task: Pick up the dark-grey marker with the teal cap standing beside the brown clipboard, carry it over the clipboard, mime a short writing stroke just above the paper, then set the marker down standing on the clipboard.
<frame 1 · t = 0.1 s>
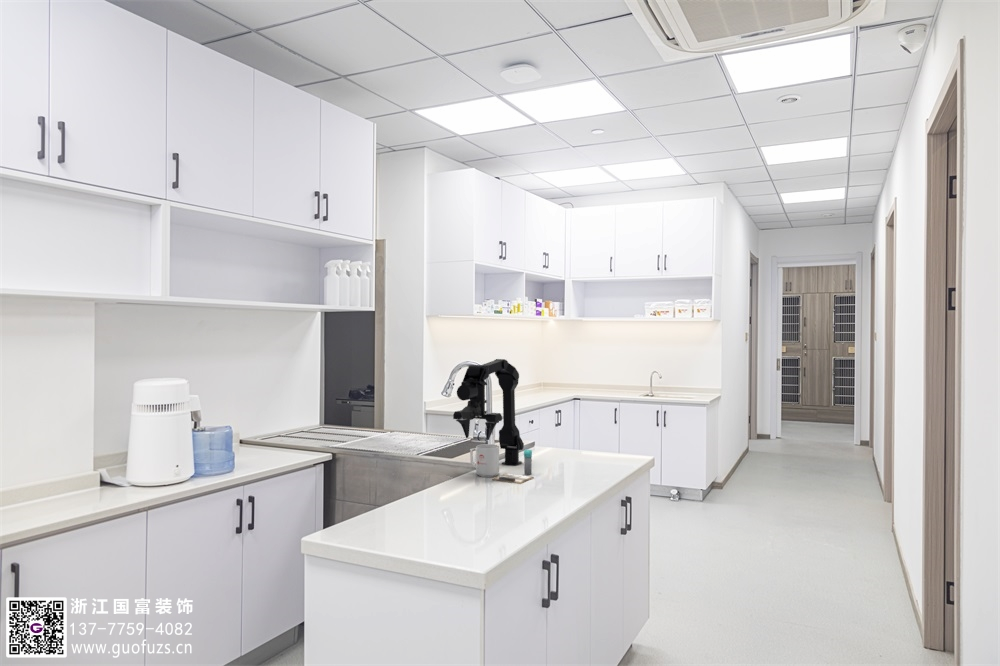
hand: (477, 438, 255), 15 cm above the countertop, fingers open, 9 cm apart
clipboard: (513, 479, 252), on the countertop
marker: (527, 474, 259), on the countertop
mug: (484, 475, 260), on the countertop
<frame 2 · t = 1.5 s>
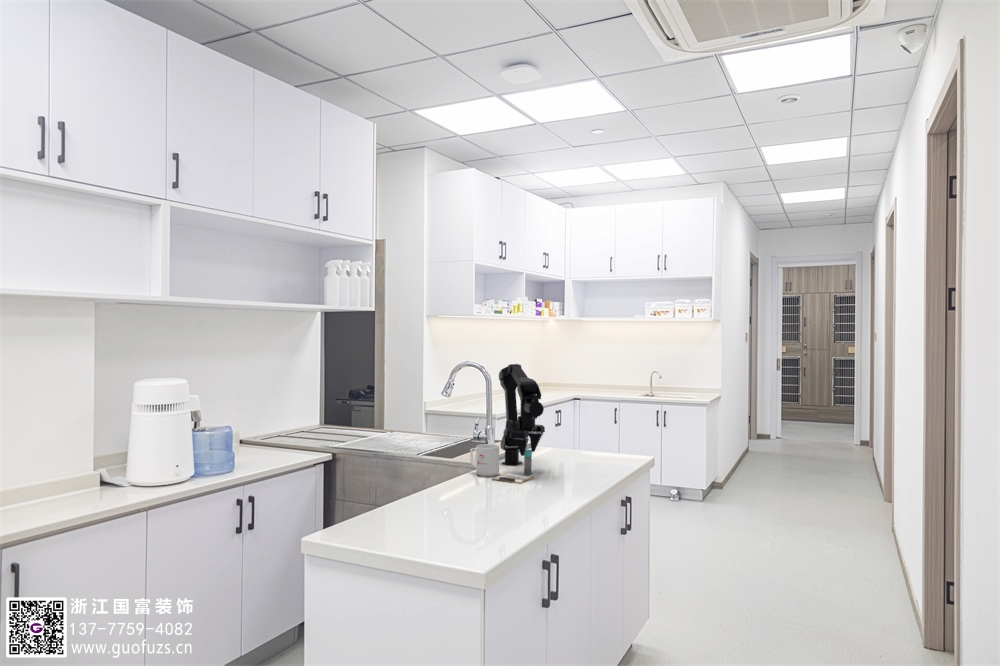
hand: (527, 453, 259), 8 cm above the countertop, fingers open, 9 cm apart
nothing on the countertop moved.
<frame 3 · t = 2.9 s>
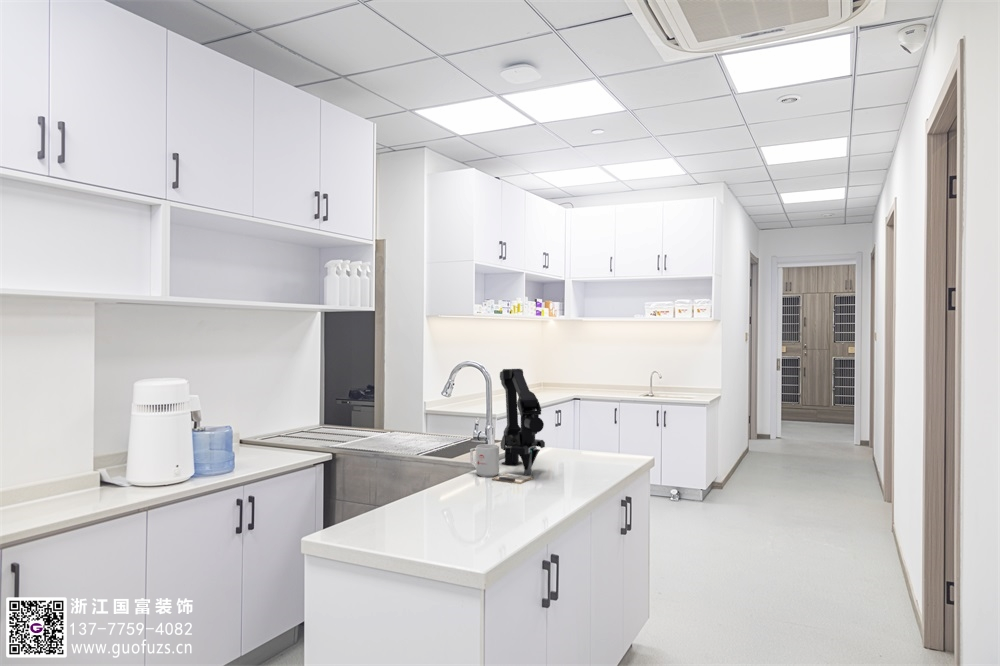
hand: (527, 468, 259), 2 cm above the countertop, fingers closed on marker, 3 cm apart
marker: (527, 474, 259), on the countertop, touching gripper
everything else where it was.
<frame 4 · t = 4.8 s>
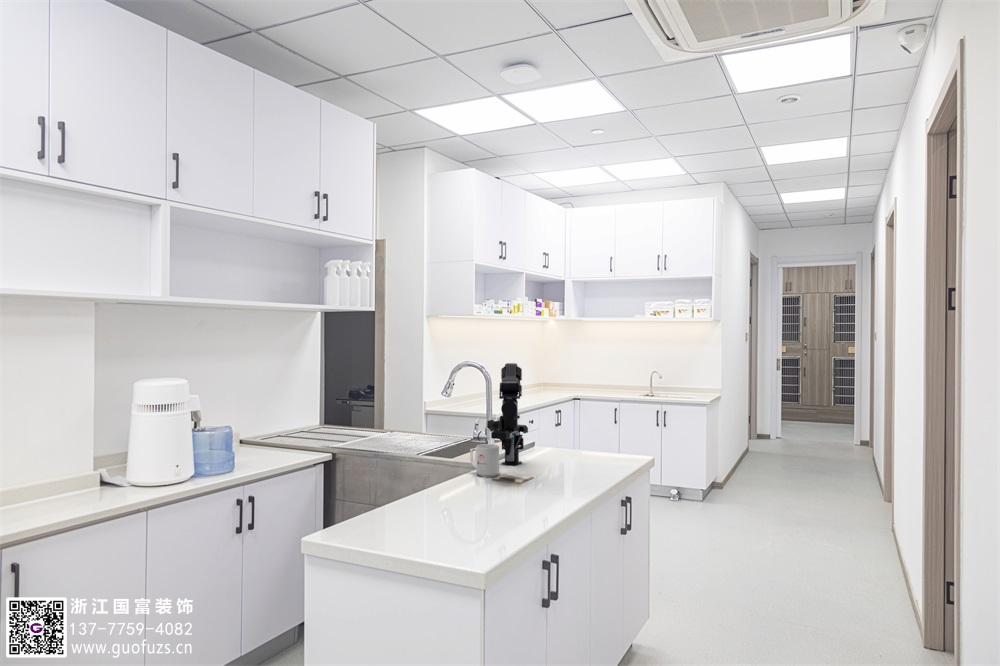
hand: (510, 454, 251), 9 cm above the countertop, fingers closed on marker, 3 cm apart
marker: (510, 460, 251), point 7 cm above the countertop, touching gripper
everything else where it was.
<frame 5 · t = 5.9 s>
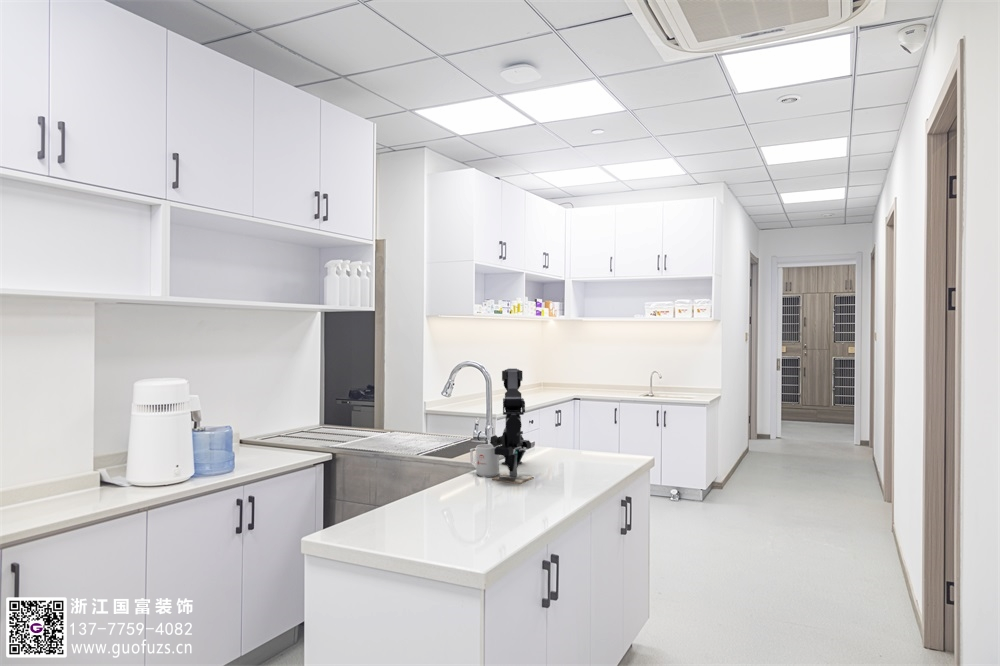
hand: (513, 470, 251), 3 cm above the countertop, fingers closed on marker, 3 cm apart
marker: (513, 476, 251), point 1 cm above the countertop, touching gripper
everything else where it was.
when the fingers open (3 cm above the countertop, at t = 6.8 s): marker stays where it is, resting on clipboard.
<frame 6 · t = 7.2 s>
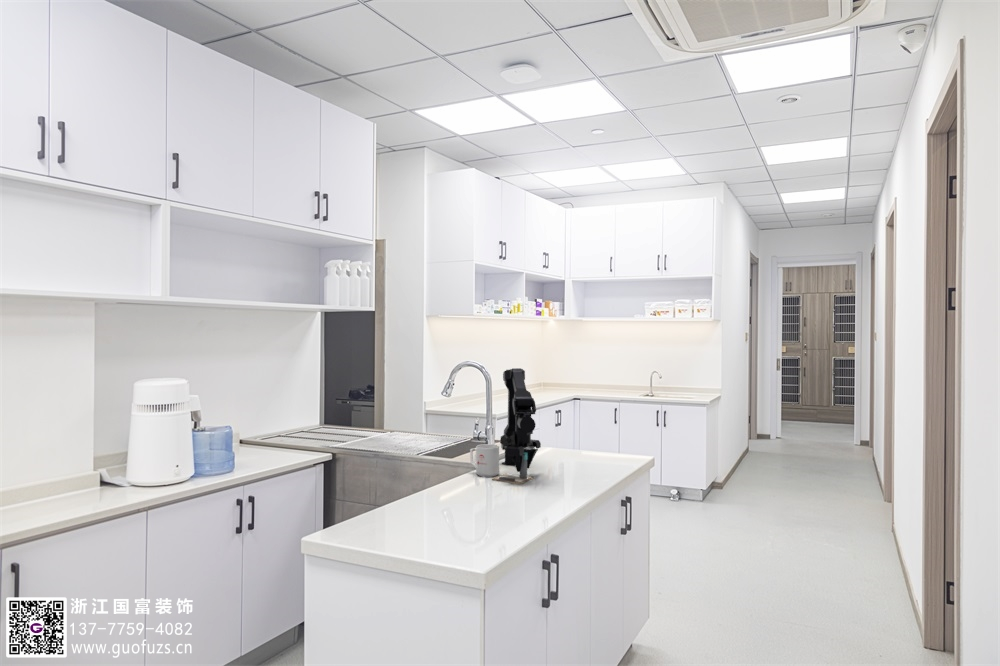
hand: (523, 470, 251), 3 cm above the countertop, fingers open, 7 cm apart
marker: (523, 477, 251), point 1 cm above the countertop, touching clipboard
everything else where it was.
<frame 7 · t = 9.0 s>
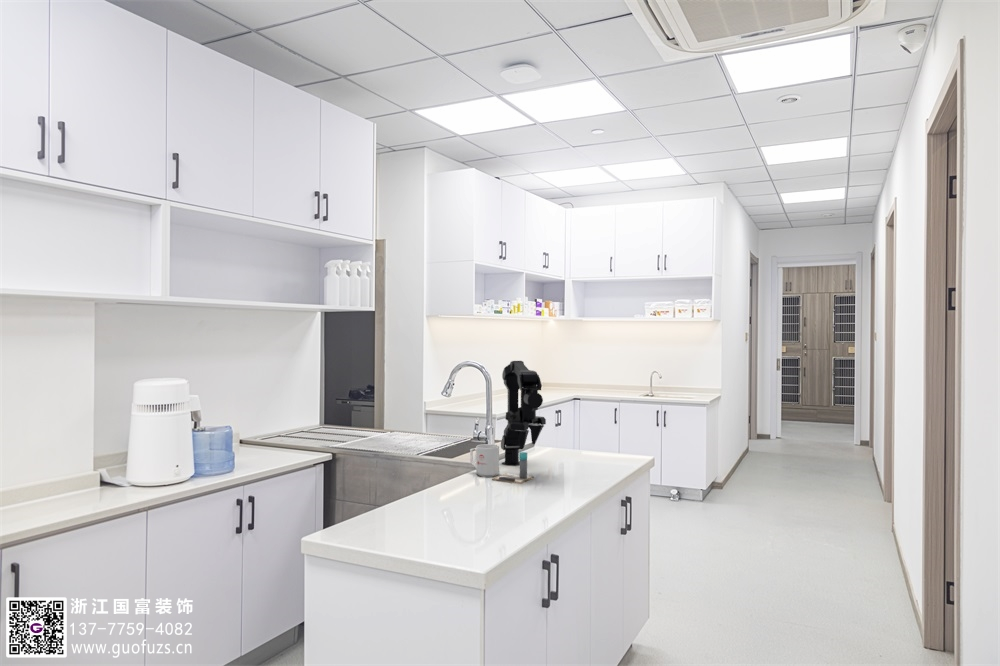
hand: (528, 445, 253), 12 cm above the countertop, fingers open, 9 cm apart
nothing on the countertop moved.
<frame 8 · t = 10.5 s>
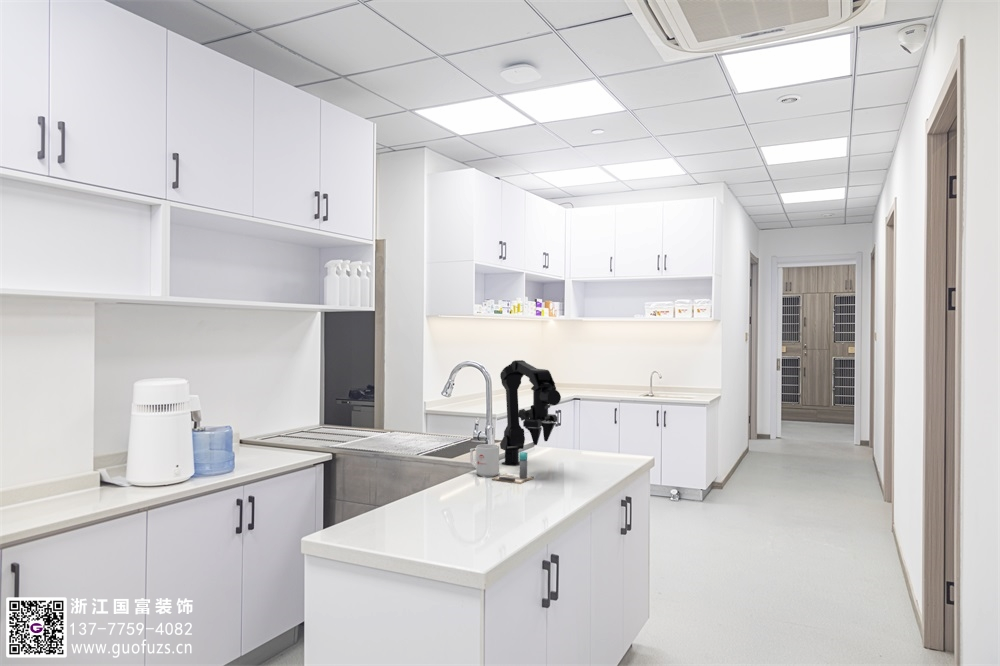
hand: (540, 443, 257), 13 cm above the countertop, fingers open, 9 cm apart
nothing on the countertop moved.
at the end: marker inside the target area (3.7 cm from its centre), point 0.5 cm above the countertop; marker tilted 0°; the gripper is holding nothing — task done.
